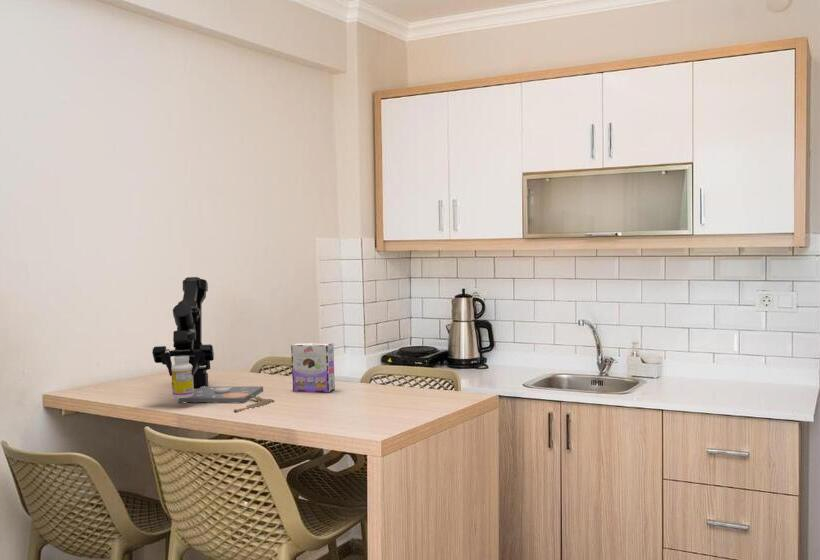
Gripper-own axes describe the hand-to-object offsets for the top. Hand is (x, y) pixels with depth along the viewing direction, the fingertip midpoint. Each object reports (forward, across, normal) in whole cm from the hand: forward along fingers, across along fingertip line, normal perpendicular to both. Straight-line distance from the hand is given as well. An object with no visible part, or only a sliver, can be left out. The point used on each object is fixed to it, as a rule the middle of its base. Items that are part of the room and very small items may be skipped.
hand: (181, 375), depth 257 cm
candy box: (-4, +42, +20) cm, 46 cm away
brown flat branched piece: (+10, +20, +6) cm, 23 cm away
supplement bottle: (+4, 0, +6) cm, 7 cm away
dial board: (-2, +11, +17) cm, 20 cm away
